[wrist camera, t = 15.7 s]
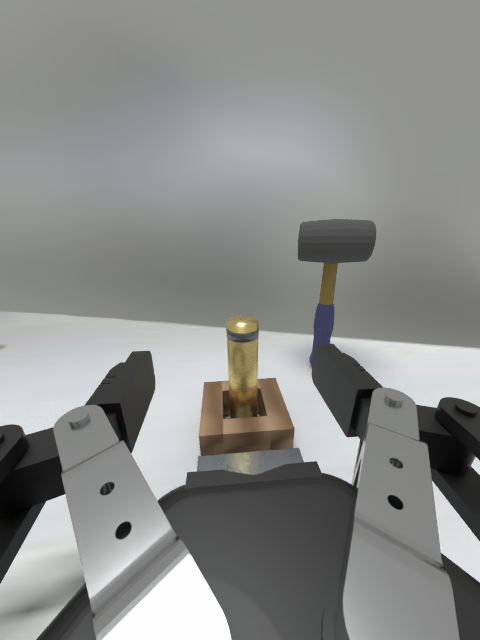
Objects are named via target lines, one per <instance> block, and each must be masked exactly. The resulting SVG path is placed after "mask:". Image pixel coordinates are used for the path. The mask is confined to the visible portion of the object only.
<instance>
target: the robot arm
mask: <svg viewBox="0 0 480 640" xmlns="http://www.w3.org/2000/svg"><path fill="white" fill-rule="evenodd" d="M312 379H313V383H314V385H315V386H316V388H317V389H318V391H319V393H320V394H321V396H322V398H323V399H324V401H325V403H326V404H327V406H328V408H329V409H330V411H331V412H332V414H333V416H334V417H335V419H336V421H337V422H338V424H339V426H340V427H341V429H342V430H343V432H344V434H345V435H346V437H356V436H358V437H359V438H360V443H359V447H358V453H357V458H356V463H355V468H354V474H353V479H352V484H350V483H348V482H346V481H344V480H342V479H340V478H337V477H335V476H332V475H329V474H325V473H321V471H320V468H319V466H318V464H317V461H315V462H304V463H292V464H285V465H282V466H279V467H276V468H274V469H271V470H268V471H265V472H263V473H260V474H257V475H249V474H243V473H237V472H232V471H226V470H210V471H198V472H187V479H186V485H183V486H180V487H178V488H176V489H174V490H172V491H170V492H169V493H167V494H166V495H164V496H163V497H162V498H160V499H159V500H158V501H157V500H156V498H155V496H154V494H153V493H152V491H151V489H150V487H149V485H148V484H147V482H146V480H145V478H144V476H143V475H142V473H141V471H140V469H139V467H138V466H137V464H136V462H135V460H134V458H133V456H132V455H131V453H132V451H133V448H134V445H135V443H136V440H137V437H138V435H139V432H140V429H141V426H142V424H143V421H144V418H145V416H146V413H147V410H148V407H149V405H150V402H151V399H152V397H153V394H154V391H155V375H154V369H153V362H152V356H151V353H150V351H135V352H132V353H131V354H130V356H129V357H128V359H127V360H126V362H125V363H119V364H118V365H116V366H115V367H113V368H112V369H111V370H110V371H109V372H108V374H107V375H106V377H105V378H104V379H103V381H102V382H101V385H99V386H98V388H97V389H96V390H95V392H94V393H93V395H92V396H91V397H90V399H89V400H88V401H87V403H86V404H85V406H81V407H78V408H75V409H73V410H71V411H69V412H67V413H66V414H64V415H63V416H62V417H61V418H59V420H58V421H57V422H56V423H55V425H54V427H53V428H50V429H46V430H43V431H39V432H35V433H32V434H28V435H25V433H24V431H23V429H22V427H20V426H19V425H5V426H0V583H1V581H2V580H3V578H4V576H5V574H6V572H7V571H8V569H9V567H10V565H11V563H12V562H13V560H14V558H15V556H16V554H17V553H18V551H19V549H20V547H21V545H22V544H23V542H24V540H25V538H26V536H27V535H28V533H29V531H30V529H31V527H32V526H33V524H34V522H35V520H36V518H37V517H38V515H39V513H40V511H41V509H42V508H43V506H44V504H45V502H46V501H48V500H50V499H53V498H56V497H58V496H61V495H64V494H66V498H67V503H68V507H69V511H70V516H71V520H72V525H73V529H74V533H75V538H76V542H77V546H78V551H79V555H80V560H81V564H82V568H83V573H84V577H85V581H86V582H85V583H84V585H83V586H82V587H81V588H80V589H79V590H78V592H77V593H76V594H75V595H74V596H73V597H72V599H71V600H70V601H69V602H68V603H67V604H66V606H65V607H64V608H63V609H62V610H61V611H60V613H59V614H58V615H57V616H56V617H55V618H54V620H53V621H52V622H51V623H50V624H49V625H48V627H47V628H46V629H45V630H44V631H43V632H42V634H41V635H40V636H39V637H38V638H37V639H36V640H480V583H479V582H478V581H477V580H476V579H474V578H473V577H472V576H470V575H469V574H468V573H466V572H465V571H464V570H463V569H461V568H460V567H459V566H457V565H456V564H455V563H454V562H452V561H451V560H450V559H448V558H447V557H446V556H444V555H443V554H442V553H441V552H440V543H439V535H438V527H437V519H436V511H435V502H434V494H433V486H432V481H433V482H434V483H435V485H436V486H437V487H438V488H439V490H440V491H441V492H442V494H443V495H444V496H445V497H446V499H447V500H448V501H449V502H450V504H451V505H452V506H453V508H454V509H455V510H456V511H457V513H458V514H459V515H460V517H461V518H462V519H463V520H464V522H465V523H466V524H467V526H468V527H469V528H470V529H471V531H472V532H473V533H474V535H475V536H476V537H477V538H478V540H479V541H480V475H479V474H478V473H477V472H476V471H475V470H474V469H473V468H472V467H471V464H472V462H473V461H474V459H475V457H477V458H478V459H479V460H480V407H478V406H476V405H474V404H472V403H470V402H468V401H465V400H462V399H458V398H451V397H447V398H442V399H441V400H440V402H439V404H438V407H437V408H433V407H427V406H420V405H416V404H415V402H414V401H413V400H412V399H411V398H410V397H409V396H407V395H406V394H404V393H402V392H400V391H397V390H394V389H391V388H383V387H382V386H381V385H380V384H379V383H378V382H377V381H376V380H375V379H374V378H373V377H372V376H371V375H370V374H369V373H368V372H367V371H365V369H364V368H363V367H362V366H360V364H359V363H358V362H357V361H356V360H355V359H354V358H352V357H350V356H348V355H347V354H345V353H341V352H340V350H339V349H338V348H337V347H336V346H335V345H334V344H317V345H316V347H315V352H314V359H313V366H312Z"/></svg>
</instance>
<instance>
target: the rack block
mask: <svg viewBox="0 0 480 640" xmlns="http://www.w3.org/2000/svg"><path fill="white" fill-rule="evenodd" d="M257 413H260V417H246V418H232V419H224V416H227V415H230V399H229V381H218V382H204V390H203V400H202V410H201V421H200V431H199V441H200V451H201V456H208V455H220V454H232V453H244V452H257V451H269V450H281V449H293V439H294V426H293V424H292V421H291V418H290V416H289V413H288V410H287V408H286V405H285V402H284V400H283V397H282V394H281V392H280V389H279V386H278V384H277V381H276V378H267V379H257Z"/></svg>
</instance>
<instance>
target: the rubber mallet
mask: <svg viewBox="0 0 480 640" xmlns="http://www.w3.org/2000/svg"><path fill="white" fill-rule="evenodd" d="M375 240H376V227H375V224H374V223H373V222H372V221H368V220H367V221H366V220H348V219H345V220H344V219H332V220H318V221H308V222H302V223H301V225H300V231H299V239H298V259H299V260H300V261H310V262H324V267H323V276H322V284H321V292H320V300H319V304H318V306H317V309H316V314H315V320H314V341H313V349H312V353H311V356H310V363H311V365H312V366H313V359H314V352H315V347H316V345H317V344H330V338H331V334H332V331H333V325H334V304H333V299H334V290H335V282H336V274H337V265H338V263H342V262H343V263H344V262H360V261H361V262H362V261H367V260H368V259H369V257H370V256H371V255H372V252H373V249H374V246H375Z"/></svg>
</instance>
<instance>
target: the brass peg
mask: <svg viewBox="0 0 480 640" xmlns="http://www.w3.org/2000/svg"><path fill="white" fill-rule="evenodd" d="M226 330H227V346H228V373H229V399H230V419H232V418H246V417H257V376H258V334H259V326H258V319H257V318H256V317H254V316H250V315H235V316H232V317H230V318H228V319H227V327H226Z"/></svg>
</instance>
